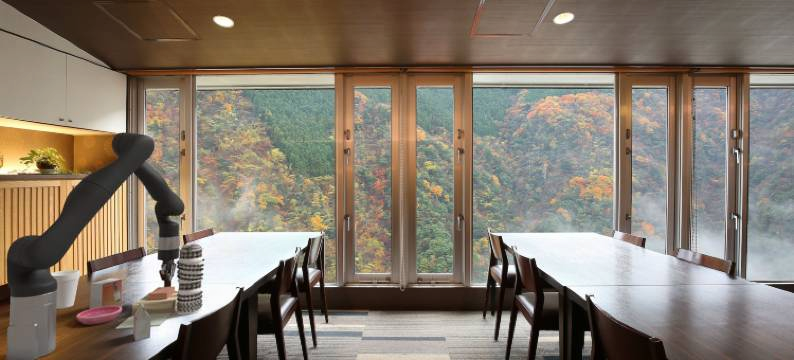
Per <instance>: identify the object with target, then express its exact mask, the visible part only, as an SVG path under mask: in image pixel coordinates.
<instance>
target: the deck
mask: <svg viewBox="0 0 794 360" xmlns="http://www.w3.org/2000/svg"><path fill="white" fill-rule="evenodd" d="M151 292H152V291H150V292H149V293H148V294H146V295H144V296H143V297H142V298H140V299H139V300H138V301H136V302H135V303H134V304H132V307H131V308H132V309H131V311H132V312H131V316H132V315H134V314H135V312H136V310H137V309H138V306H139V304H140V302H142V304H143V306H144V308H145V310H146V312H147V313H148V314H159V313H172V314H173V313H174V312H175V311H177V302H178V300H177V298H178V296H177V294H178V290H175V293H174V294H172V295H171V296H170V297H169V298H168V299H161V300H149V294H150V293H151Z"/></svg>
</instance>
